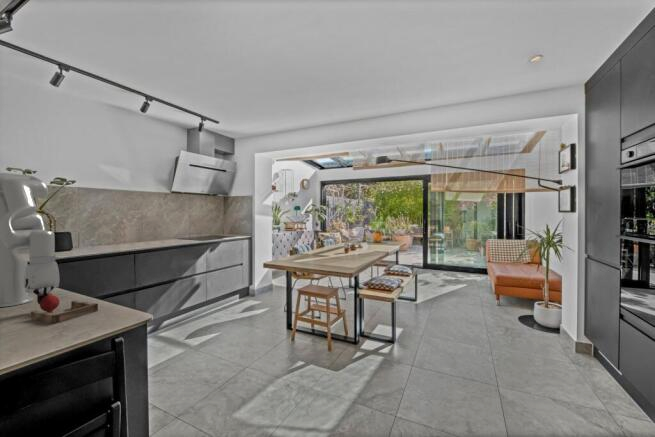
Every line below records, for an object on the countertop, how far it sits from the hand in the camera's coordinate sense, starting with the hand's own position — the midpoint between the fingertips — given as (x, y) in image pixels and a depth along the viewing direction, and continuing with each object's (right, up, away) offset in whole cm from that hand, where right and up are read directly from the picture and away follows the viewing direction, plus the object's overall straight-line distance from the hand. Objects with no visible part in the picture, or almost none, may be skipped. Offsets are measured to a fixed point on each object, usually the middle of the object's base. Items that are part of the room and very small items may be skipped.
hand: (43, 303), depth 120 cm
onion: (+4, -3, -1) cm, 5 cm away
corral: (+14, -3, -4) cm, 15 cm away
